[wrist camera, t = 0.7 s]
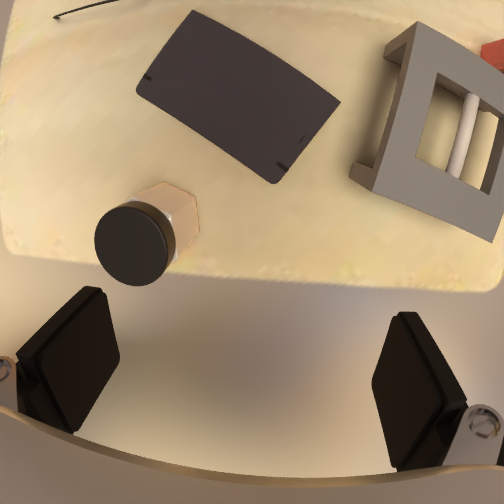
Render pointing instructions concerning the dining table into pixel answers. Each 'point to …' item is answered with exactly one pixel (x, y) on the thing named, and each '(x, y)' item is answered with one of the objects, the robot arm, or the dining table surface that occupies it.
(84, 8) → the sunglasses
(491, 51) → the red stepped block
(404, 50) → the grey frame with crossbar
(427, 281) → the dining table surface
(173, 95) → the notebook
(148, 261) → the jar
